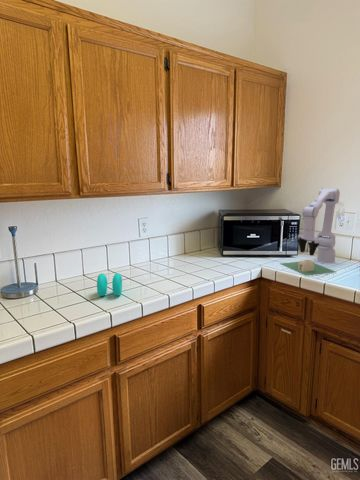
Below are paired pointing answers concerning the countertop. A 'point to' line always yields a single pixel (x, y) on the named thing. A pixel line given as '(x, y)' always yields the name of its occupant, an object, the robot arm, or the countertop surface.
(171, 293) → the countertop surface
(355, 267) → the countertop surface
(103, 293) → the donuts
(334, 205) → the robot arm
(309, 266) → the beige u-shaped channel block
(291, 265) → the header board
